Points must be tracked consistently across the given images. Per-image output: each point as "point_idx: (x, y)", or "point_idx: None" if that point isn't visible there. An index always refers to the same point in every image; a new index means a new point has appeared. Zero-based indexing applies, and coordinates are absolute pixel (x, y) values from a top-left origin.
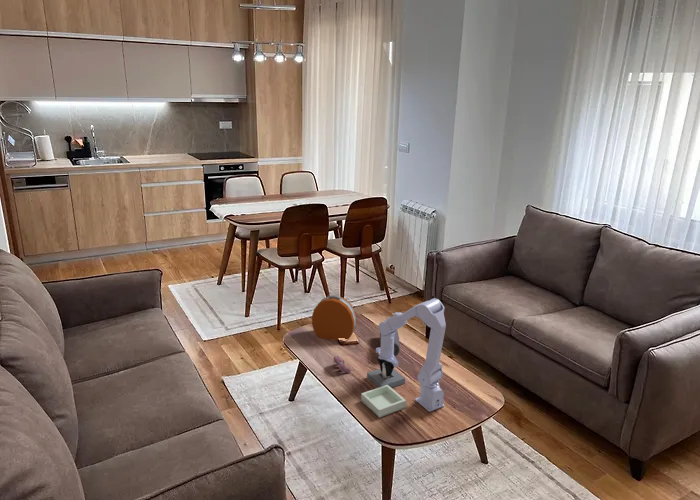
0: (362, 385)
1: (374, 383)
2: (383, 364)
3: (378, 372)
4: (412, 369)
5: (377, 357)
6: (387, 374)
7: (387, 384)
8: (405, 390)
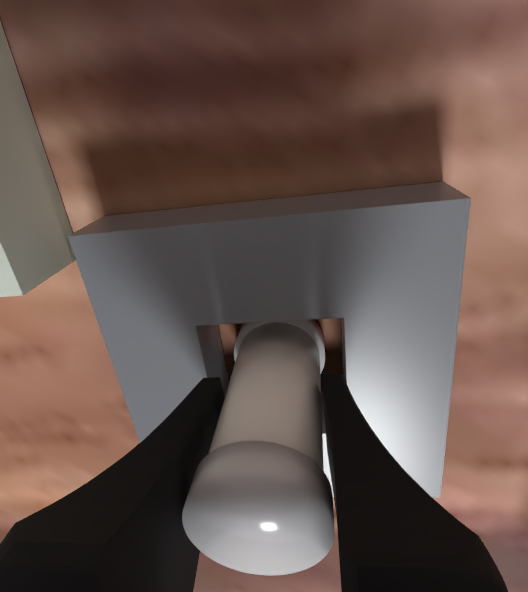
0: (301, 19)
1: (261, 201)
2: (274, 496)
3: (379, 340)
4: (333, 571)
5: (460, 582)
6: (186, 400)
7: (95, 306)
8: (73, 402)
